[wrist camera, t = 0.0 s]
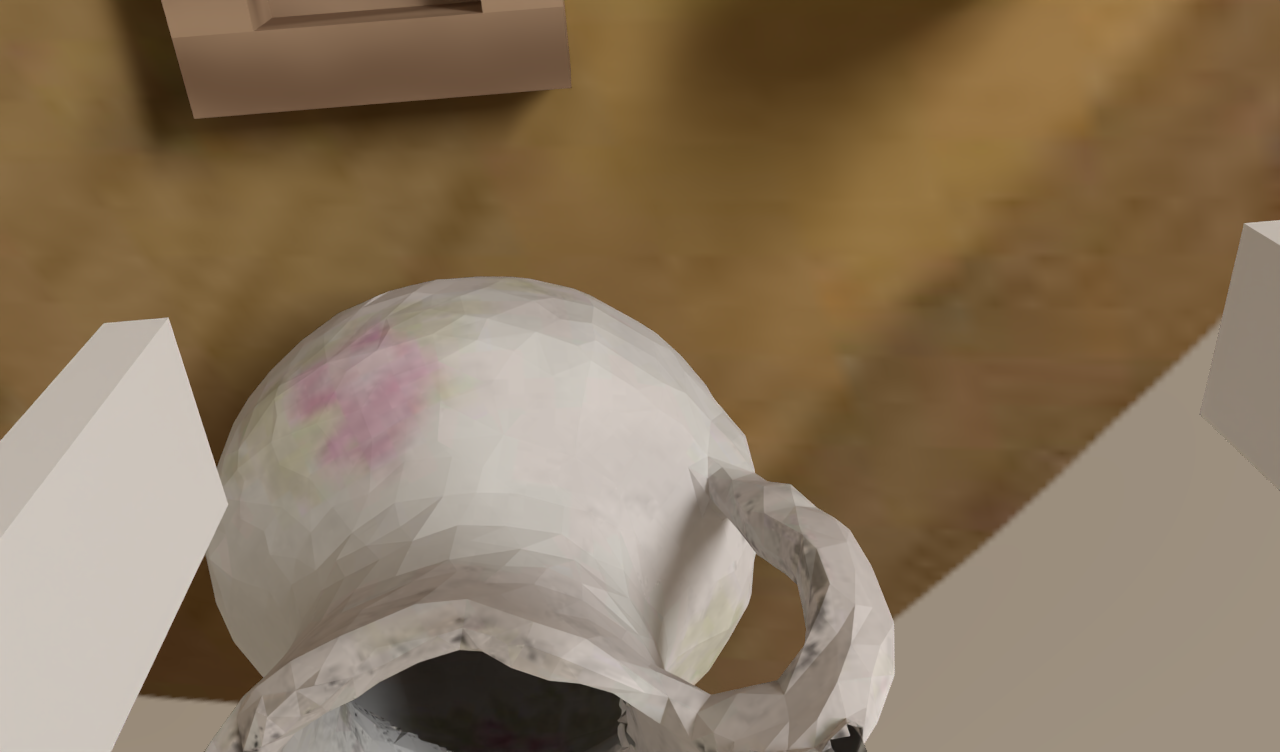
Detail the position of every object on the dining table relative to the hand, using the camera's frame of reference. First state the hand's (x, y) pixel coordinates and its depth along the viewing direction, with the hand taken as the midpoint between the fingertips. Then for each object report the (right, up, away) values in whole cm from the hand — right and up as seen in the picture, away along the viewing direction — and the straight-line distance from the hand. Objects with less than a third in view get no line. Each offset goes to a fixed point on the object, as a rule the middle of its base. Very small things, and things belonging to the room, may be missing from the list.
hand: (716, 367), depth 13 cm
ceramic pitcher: (-6, -1, +32) cm, 33 cm away
